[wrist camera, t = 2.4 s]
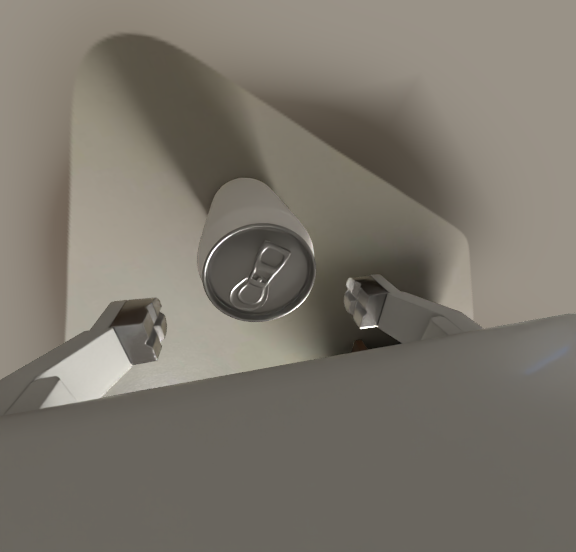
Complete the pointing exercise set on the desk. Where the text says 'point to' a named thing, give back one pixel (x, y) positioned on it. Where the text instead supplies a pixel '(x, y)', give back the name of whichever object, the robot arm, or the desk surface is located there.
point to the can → (254, 253)
